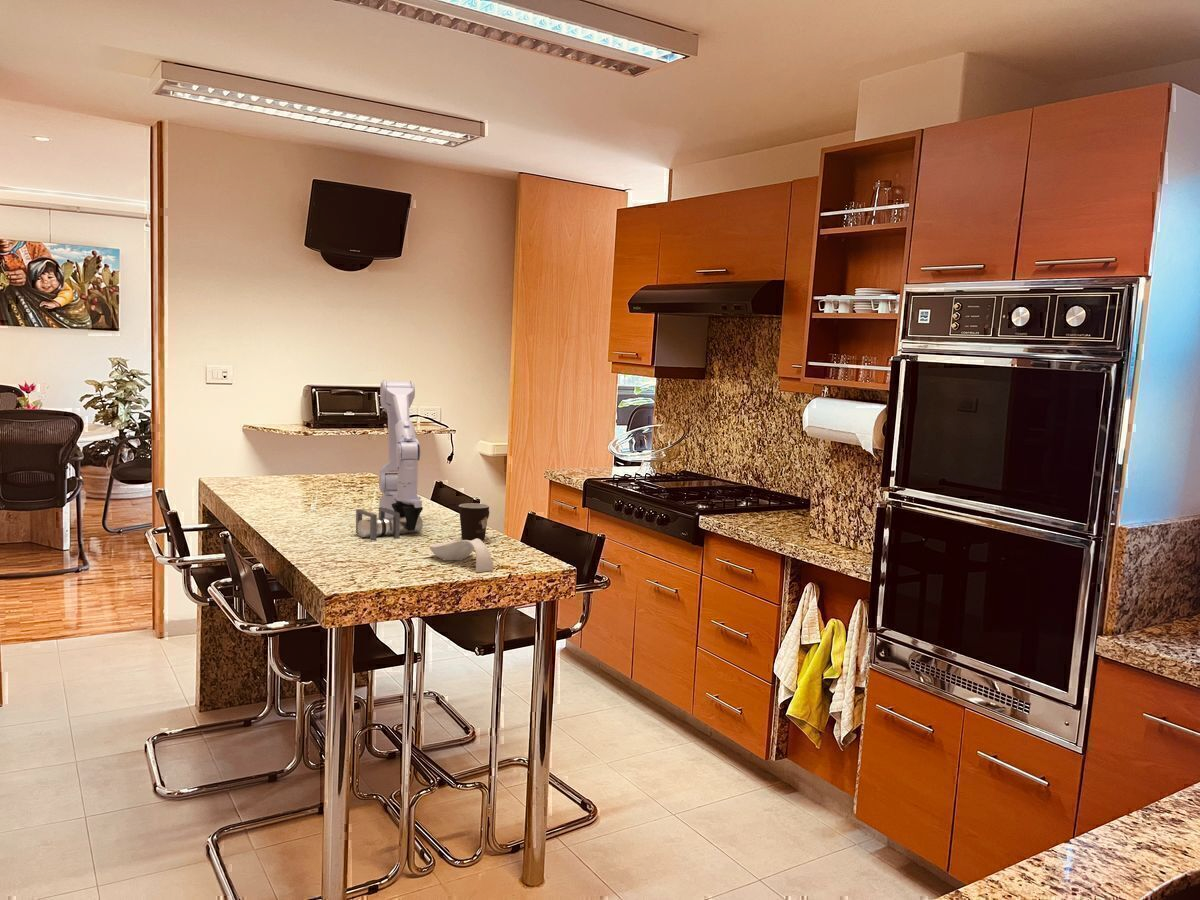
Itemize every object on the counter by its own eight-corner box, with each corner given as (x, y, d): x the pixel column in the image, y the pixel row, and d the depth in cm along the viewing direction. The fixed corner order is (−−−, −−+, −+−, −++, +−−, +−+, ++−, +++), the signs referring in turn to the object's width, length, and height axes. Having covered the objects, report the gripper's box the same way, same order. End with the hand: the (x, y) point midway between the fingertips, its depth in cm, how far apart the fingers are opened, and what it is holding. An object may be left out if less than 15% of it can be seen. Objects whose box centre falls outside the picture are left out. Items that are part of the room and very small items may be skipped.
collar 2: (378, 532, 264) (378, 507, 263) (382, 531, 264) (382, 507, 264) (395, 538, 255) (395, 513, 255) (399, 538, 256) (399, 512, 255)
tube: (364, 539, 253) (365, 522, 252) (357, 535, 257) (357, 518, 256) (422, 533, 264) (423, 517, 263) (414, 530, 268) (414, 513, 267)
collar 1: (355, 534, 259) (356, 509, 259) (359, 533, 260) (360, 508, 259) (372, 540, 251) (372, 515, 250) (376, 540, 252) (376, 514, 251)
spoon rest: (421, 556, 235) (421, 529, 234) (461, 552, 242) (462, 526, 241) (465, 575, 216) (465, 546, 215) (507, 570, 223) (508, 541, 222)
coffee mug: (468, 544, 251) (469, 509, 250) (452, 539, 258) (453, 504, 257) (503, 540, 258) (504, 506, 257) (486, 535, 265) (487, 501, 264)
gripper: (431, 485, 259) (430, 531, 260) (408, 478, 270) (407, 523, 271) (409, 486, 255) (408, 533, 256) (386, 480, 266) (386, 525, 267)
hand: (406, 528), depth 263 cm, fingers closed on tube, 5 cm apart
